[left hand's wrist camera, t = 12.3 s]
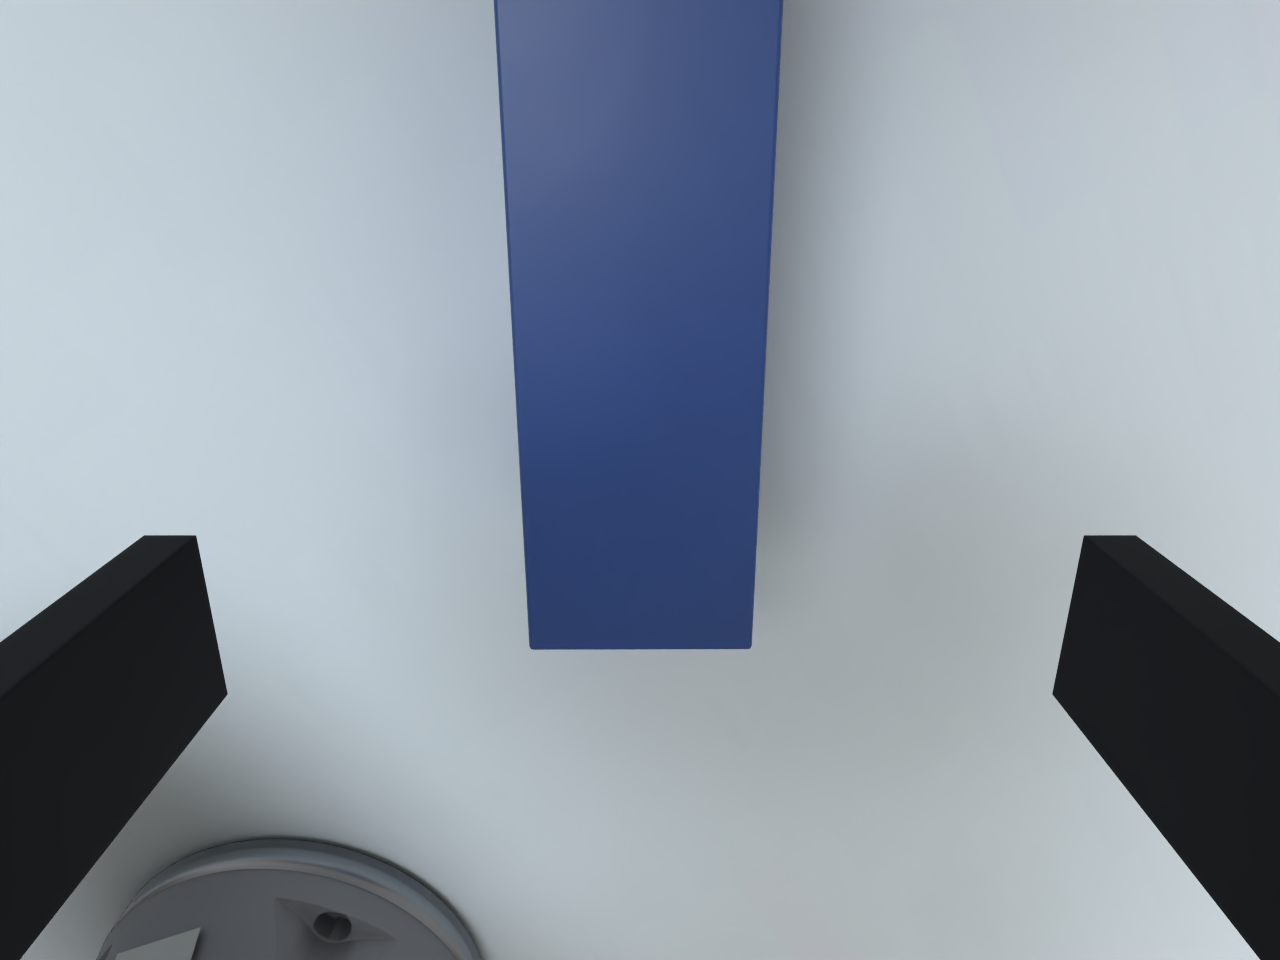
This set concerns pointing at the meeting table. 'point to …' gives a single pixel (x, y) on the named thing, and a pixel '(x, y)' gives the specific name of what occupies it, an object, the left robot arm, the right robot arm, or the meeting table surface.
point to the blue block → (639, 310)
